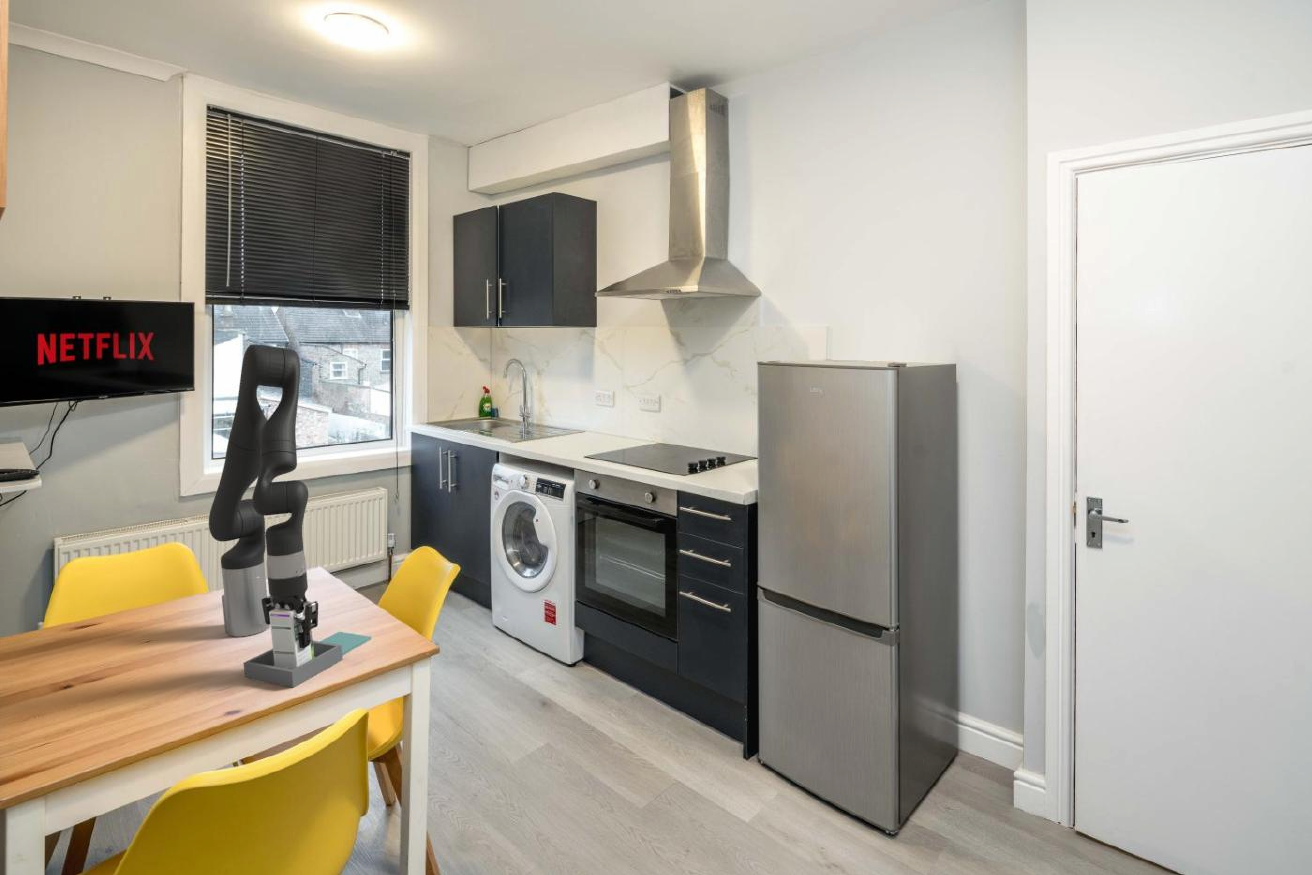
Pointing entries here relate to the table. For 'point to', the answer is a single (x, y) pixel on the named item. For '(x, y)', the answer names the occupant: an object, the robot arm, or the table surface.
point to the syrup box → (288, 640)
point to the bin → (266, 672)
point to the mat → (347, 640)
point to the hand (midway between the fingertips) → (293, 644)
